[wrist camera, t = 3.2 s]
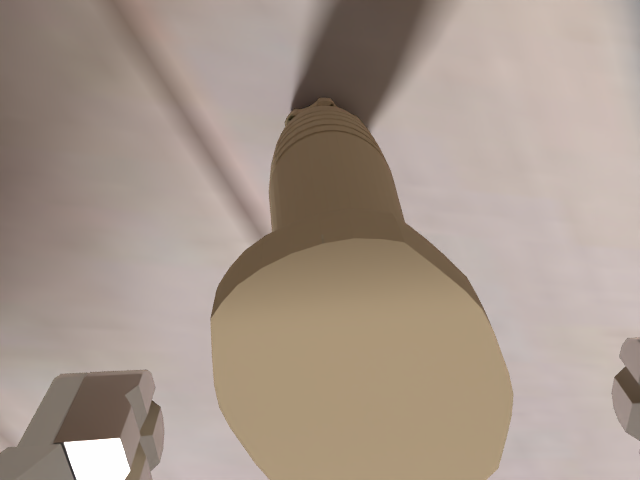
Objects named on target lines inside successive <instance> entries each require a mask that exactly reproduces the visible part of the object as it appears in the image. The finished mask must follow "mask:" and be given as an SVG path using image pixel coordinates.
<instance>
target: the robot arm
mask: <svg viewBox="0 0 640 480" xmlns="http://www.w3.org/2000/svg"><path fill="white" fill-rule="evenodd" d="M619 357H620V359H621V360H622V362H623V363H624V365H625V366H626V367H624V368H623V369H622V370H621V371H620V372H619V373H618V374H617V375H616V376H615V377H614V382H613V388H612V399H613V407H614V410H615V413H616V416H617V418H618V421H619V422H620V424H621V425H622V427H623V429H624V430H625V432H626V433H628V434H630V435H631V436H633V437H635V438H636V439H638V440H639V441H640V337H635V338H627V339H626V340H625V342H624V343H623V344H622V347H621V351H620V355H619ZM155 388H156V387H155V384H154V380H153V377H152V374H151V372H149V371H148V370H127V371H104V372H90V373H70V374H60V375H59V376H57V377H56V378H55V379H54V380H53V382H52V384H51V385H50V387H49V389H48V391H47V393H46V395H45V396H44V398H43V400H42V402H41V404H40V405H39V407H38V409H37V411H36V413H35V415H34V416H33V418H32V420H31V422H30V424H29V426H28V427H27V429H26V431H25V433H24V435H23V437H22V438H21V440H20V442H19V444H18V446H17V447H8V448H6V449H5V450H4V451H2V452H1V453H0V480H152V476H151V472H150V471H151V470H153V469H154V468H155V467H156V466H157V465H158V464H159V463H160V459H161V455H162V451H163V443H164V422H163V415H162V411H161V407H160V406H159V405H157V404H156V403H155V402H154V401H152V398H153V394H154V391H155ZM639 454H640V451H639Z"/></svg>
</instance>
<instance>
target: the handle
mask: <svg viewBox="0 0 640 480" xmlns="http://www.w3.org/2000/svg"><path fill="white" fill-rule="evenodd" d="M285 126H286V127H285V128H284V130H283V131H282V133H281V135H280V137H279V140H278V142H277V144H276V148H275V152H274V155H273V160H272V164H271V173H270V184H269V201H270V213H271V225H272V233H270V234H268V235H266V236H264V237H263V238H262V239H260V240H259V241H257V242H256V243H255V244H253V245H252V246H250V247H249V248H248V249H246V250H245V251H244V252H243V253H242V254H241V255H240V257H239V258H238V259H237V260H236V261H235V262H234V263H233V264H232V266H231V267H230V268H229V270H228V271H227V273H226V274H225V276H224V277H223V279H222V280H221V282H220V283H219V285H218V288H217V291H216V295H215V299H214V304H213V309H212V314H211V343H212V363H213V376H214V387H215V391H216V395H217V400H218V404H219V408H220V410H221V411H222V413H223V415H224V417H225V419H226V421H227V423H228V425H229V427H230V428H231V430H232V431H233V432H234V434H235V435H236V437H237V438H238V440H239V441H240V442H241V444H242V445H243V447H244V448H245V450H246V451H247V452H248V454H249V455H250V457H251V458H252V460H253V461H254V462H255V464H256V465H257V466H258V467H259V468H260V469H261V470H262V472H263V473H264V474H265V475H266V476H267V477H268V478H269V479H270V480H486V479H487V478H488V477H490V476H491V475H492V474H493V473H494V472H495V471H496V470H497V469H498V467H499V463H500V460H501V456H502V452H503V449H504V445H505V441H506V437H507V433H508V429H509V424H510V420H511V416H512V405H513V391H512V386H511V381H510V376H509V372H508V370H507V367H506V364H505V361H504V359H503V356H502V353H501V350H500V347H499V345H498V342H497V339H496V336H495V334H494V331H493V329H492V327H491V324H490V322H489V320H488V317H487V315H486V313H485V310H484V308H483V306H482V304H481V302H480V300H479V298H478V296H477V294H476V293H475V291H474V289H473V287H472V286H471V284H470V282H469V280H468V278H467V277H466V276H465V275H464V274H463V273H462V272H461V271H460V270H459V269H458V268H457V267H456V266H455V265H454V264H453V263H452V262H451V261H450V260H449V259H448V258H447V257H446V256H445V255H444V254H443V253H441V252H440V251H439V250H438V249H437V248H436V247H435V246H434V245H432V244H431V243H430V242H429V241H428V240H427V239H425V238H424V237H423V236H422V235H420V234H419V233H418V232H417V231H415V230H414V229H413V228H411V227H410V226H409V225H407V224H406V223H405V221H404V217H403V214H402V210H401V206H400V202H399V199H398V195H397V191H396V187H395V184H394V180H393V177H392V173H391V170H390V168H389V166H388V164H387V162H386V160H385V158H384V156H383V154H382V152H381V150H380V148H379V146H378V144H377V142H376V141H375V139H374V138H373V136H372V135H371V133H370V132H369V130H368V129H367V128H366V127H365V125H364V124H363V123H362V121H361V120H360V119H359V118H358V117H357V116H355V115H352V114H351V113H349V112H347V111H346V110H344V109H342V108H338V107H337V106H336V105H335V104H334V102H333V100H332V99H330V98H318V100H317V101H316V102H315V103H314V104H312V105H311V106H309V107H306V108H303V109H294V110H293V111H292V112H291V113H290V114H289V115H288V117H287V118H286V121H285Z"/></svg>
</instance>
